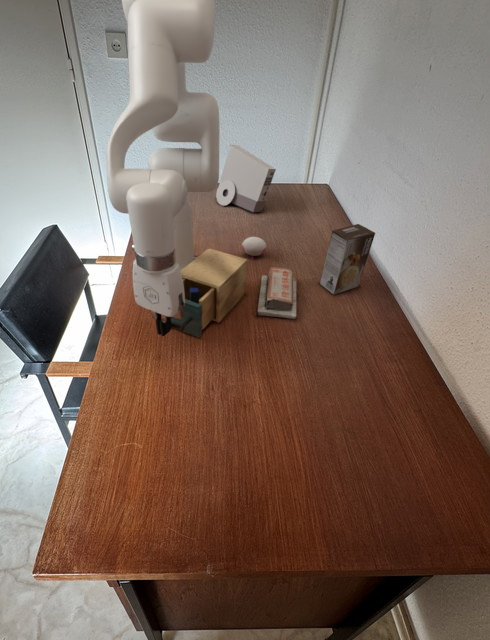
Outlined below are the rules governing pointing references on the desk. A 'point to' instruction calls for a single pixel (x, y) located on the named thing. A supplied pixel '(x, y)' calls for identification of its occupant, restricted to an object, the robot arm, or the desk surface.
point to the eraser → (194, 295)
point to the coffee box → (346, 258)
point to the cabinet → (219, 277)
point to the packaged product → (278, 294)
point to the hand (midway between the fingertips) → (164, 331)
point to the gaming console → (244, 180)
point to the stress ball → (254, 246)
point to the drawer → (196, 309)
